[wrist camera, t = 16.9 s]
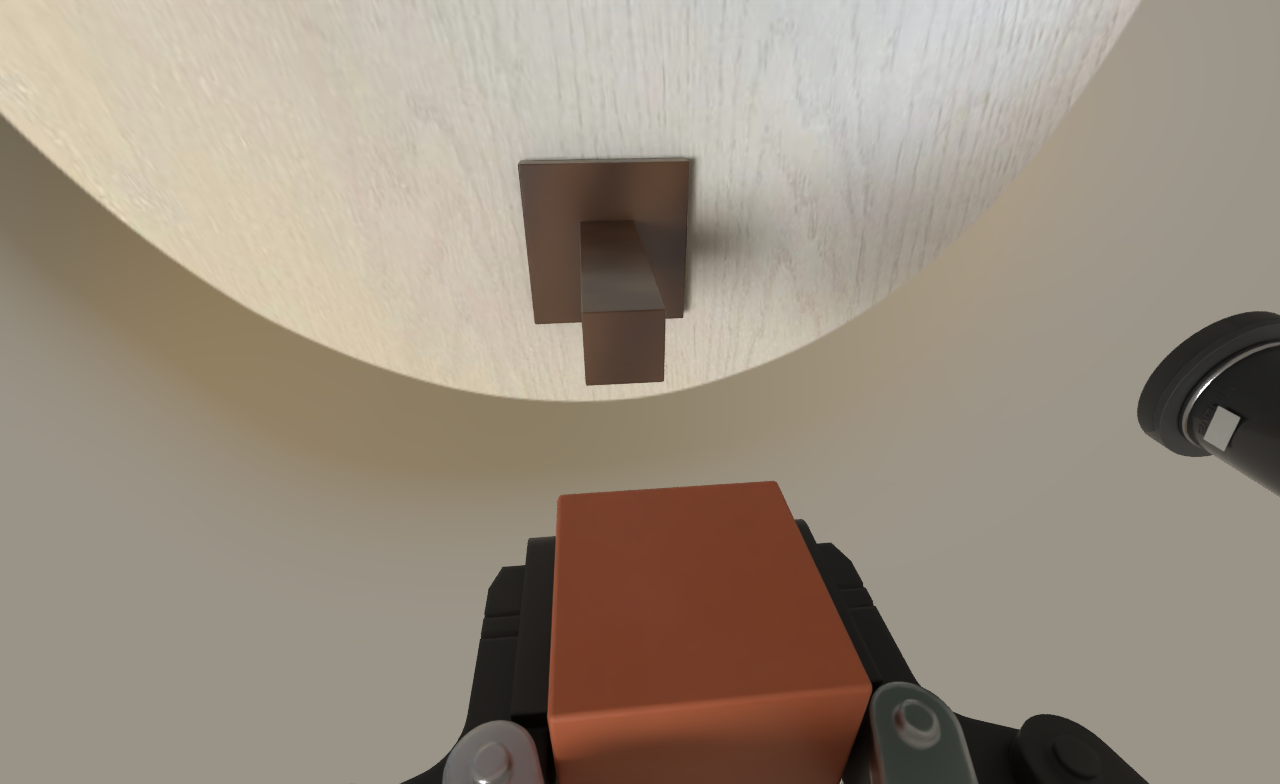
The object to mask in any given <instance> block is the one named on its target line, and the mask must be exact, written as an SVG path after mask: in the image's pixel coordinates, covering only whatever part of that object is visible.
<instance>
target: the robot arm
mask: <svg viewBox="0 0 1280 784" xmlns="http://www.w3.org/2000/svg"><path fill="white" fill-rule="evenodd" d="M1178 429H1179V432H1180V434H1181V435H1182V436H1183V437H1184V438H1185V439H1186V440H1187V441H1189V442H1191V443H1192V444H1194V445H1195V446H1197V447H1200V448H1203V449H1204V450H1206V451H1208V452H1209V453H1211V454H1212V455H1214V456H1216V457H1217V458H1219V459H1220V460H1222V461H1224V462H1225V463H1227V464H1228V465H1230V466H1232V467H1233V468H1235V469H1236V470H1238V471H1240V472H1241V473H1242V474H1244V475H1246V476H1247V477H1249V478H1250V479H1252V480H1254V481H1255V482H1257V483H1258V484H1260V485H1262V486H1263V487H1265V488H1267V489H1268V490H1270V491H1271V492H1273V493H1275V494H1276V495H1278V496H1279V497H1280V339H1273V340H1267V341H1263V342H1259V343H1256V344H1253V345H1250V346H1248V347H1245V348H1243V349H1241V350H1239V351H1237V352H1235V353H1233V354H1232V355H1230V356H1228V357H1227V358H1225V359H1224V360H1222V361H1221V362H1219V363H1218V364H1217V365H1215V366H1214V367H1213V368H1211V369H1210V370H1209V371H1208V372H1207V373H1206V374H1205V375H1204V376H1203V377H1202V378H1201V379H1200V380H1199V381H1198V382H1197V383H1196V384H1195V385H1194V387H1193V388H1192V389H1191V390H1190V392H1189V393H1188V395H1187V396H1186V398H1185V400H1184V402H1183V403H1182V406H1181V408H1180V411H1179V415H1178ZM795 522H796V524H797V526H798V528H799V531H800V533H801V535H802V537H803V539H804V541H805V543H806V546H807V548H808V550H809V552H810V554H811V556H812V558H813V560H814V563H815V565H816V567H817V569H818V571H819V573H820V575H821V578H822V580H823V582H824V584H825V586H826V588H827V590H828V592H829V595H830V597H831V599H832V601H833V603H834V605H835V607H836V610H837V612H838V614H839V616H840V618H841V620H842V622H843V624H844V627H845V629H846V631H847V633H848V635H849V637H850V639H851V642H852V644H853V646H854V648H855V650H856V652H857V654H858V656H859V659H860V661H861V663H862V665H863V667H864V669H865V671H866V674H867V676H868V678H869V680H870V682H871V685H872V693H871V696H870V699H869V702H868V705H867V707H866V710H865V713H864V716H863V719H862V722H861V724H860V727H859V730H858V733H857V736H856V738H855V741H854V744H853V747H852V750H851V753H850V755H849V758H848V761H847V764H846V767H845V769H844V772H843V775H842V782H841V784H1149V783H1148V782H1147V781H1146V780H1144V779H1143V778H1142V777H1141V776H1140V775H1139V774H1138V773H1137V772H1136V771H1134V769H1133V768H1132V767H1130V766H1129V765H1128V764H1127V763H1126V762H1125V761H1124V760H1123V759H1122V758H1121V757H1119V756H1118V755H1117V754H1116V753H1115V752H1114V751H1113V750H1112V749H1111V748H1110V747H1109V746H1108V745H1107V744H1105V743H1104V742H1103V741H1102V740H1101V739H1100V738H1098V737H1097V736H1096V735H1095V734H1094V733H1092V732H1090V731H1089V730H1088V729H1086V728H1085V727H1083V726H1081V725H1079V724H1078V723H1076V722H1074V721H1071V720H1069V719H1067V718H1063V717H1060V716H1056V715H1051V714H1041V715H1035V716H1033V717H1030V718H1029V719H1028V720H1026V721H1025V723H1024V724H1023V726H1022V727H1021V729H1020V730H1019V729H1014V728H1010V727H1006V726H1001V725H996V724H992V723H988V722H984V721H980V720H975V719H971V718H968V717H965V716H962V715H960V714H957V713H955V712H953V711H952V710H951V709H950V708H949V707H948V706H947V705H946V704H945V703H944V702H943V701H942V700H941V699H940V698H939V697H938V696H936V695H935V694H933V693H932V692H930V691H929V690H927V689H925V688H923V687H921V686H920V685H919V683H918V682H917V681H916V679H915V677H914V676H913V674H912V673H911V670H910V669H909V667H908V665H907V663H906V661H905V659H904V658H903V656H902V654H901V652H900V650H899V648H898V647H897V645H896V643H895V641H894V639H893V637H892V636H891V634H890V632H889V630H888V628H887V626H886V625H885V623H884V621H883V619H882V617H881V616H880V613H879V612H878V610H877V608H876V606H874V605H873V601H872V599H871V597H870V595H869V593H868V591H867V589H866V588H864V587H863V582H862V580H861V578H860V577H859V575H858V573H857V571H856V569H855V567H854V566H853V564H852V562H851V561H850V560H849V559H848V558H847V557H846V556H845V555H844V554H843V553H842V552H841V551H840V550H838V549H837V548H836V547H835V546H834V545H833V544H832V543H821V544H817V543H816V541H815V539H814V537H813V535H812V533H811V531H810V529H809V527H808V525H807V524H806V522H805V521H804V520H802V519H798V520H797V519H796V520H795ZM555 545H556V536H553V537H540V538H529V540H528V545H527V554H526V565H523V566H509V567H502V569H501V571H500V572H499V574H498V575H497V577H496V578H495V580H494V581H493V583H492V585H491V586H490V588H489V590H488V596H487V602H486V608H485V613H484V614H485V618H484V619H483V626H482V632H481V639H480V643H479V649H478V656H477V661H476V667H475V673H474V679H473V686H472V691H471V697H470V703H469V709H468V715H467V719H466V723H465V726H464V729H463V732H462V734H461V736H460V737H459V739H458V741H457V743H456V744H455V745H454V747H453V748H452V750H451V751H450V752H449V753H448V754H447V755H446V756H445V757H444V758H443V759H442V760H441V761H440V762H439V763H437V764H436V765H435V766H434V767H432V768H431V769H429V770H428V771H426V772H424V773H422V774H420V775H418V776H416V777H414V778H412V779H410V780H407V781H405V782H403V783H401V784H558V781H557V775H556V769H555V763H554V756H553V750H552V744H551V738H550V731H549V725H548V719H547V713H548V692H549V671H550V650H551V629H552V608H553V587H554V566H555Z"/></svg>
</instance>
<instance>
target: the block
mask: <svg viewBox="0 0 1280 784" xmlns="http://www.w3.org/2000/svg"><path fill="white" fill-rule="evenodd" d="M871 693H872V685H871V682H870V680H869V678H868V676H867V674H866V671H865V669H864V667H863V665H862V663H861V661H860V659H859V656H858V654H857V652H856V650H855V648H854V646H853V644H852V642H851V639H850V637H849V635H848V633H847V631H846V629H845V627H844V624H843V622H842V620H841V618H840V616H839V614H838V612H837V610H836V607H835V605H834V603H833V601H832V599H831V597H830V595H829V592H828V590H827V588H826V586H825V584H824V582H823V580H822V578H821V575H820V573H819V571H818V569H817V567H816V565H815V563H814V560H813V558H812V556H811V554H810V552H809V550H808V548H807V546H806V543H805V541H804V539H803V537H802V535H801V533H800V531H799V528H798V526H797V524H796V522H795V520H794V518H793V516H792V514H791V512H790V509H789V507H788V506H787V503H786V501H785V499H784V496H783V495H782V492H781V490H780V488H779V486H778V484H777V482H775V481H764V482H748V483H734V484H718V485H704V486H689V487H673V488H658V489H644V490H628V491H614V492H598V493H582V494H568V495H561V496H559V498H558V502H557V524H556V545H555V566H554V587H553V608H552V629H551V650H550V671H549V692H548V713H547V719H548V725H549V731H550V738H551V744H552V750H553V756H554V763H555V769H556V775H557V781H558V784H840V781H841V778H842V775H843V772H844V769H845V767H846V764H847V761H848V758H849V755H850V753H851V750H852V747H853V744H854V741H855V738H856V736H857V733H858V730H859V727H860V724H861V722H862V719H863V716H864V713H865V710H866V707H867V705H868V702H869V699H870V696H871Z"/></svg>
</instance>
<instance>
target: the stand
mask: <svg viewBox="0 0 1280 784" xmlns="http://www.w3.org/2000/svg"><path fill="white" fill-rule="evenodd" d="M689 165H690V162H689V161H688V160H687V159H686V158H652V159H596V160H540V161H520V162H519V164H518V171H519V180H520V189H521V199H522V208H523V217H524V227H525V236H526V245H527V255H528V264H529V273H530V283H531V292H532V301H533V311H534V320H535V324H551V323H575V322H582V329H583V346H584V362H585V379H586V385H587V386H589V385H609V384H628V383H648V382H663V381H664V359H665V319H670V318H683V313H684V288H685V264H686V239H687V214H688V190H689Z"/></svg>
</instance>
